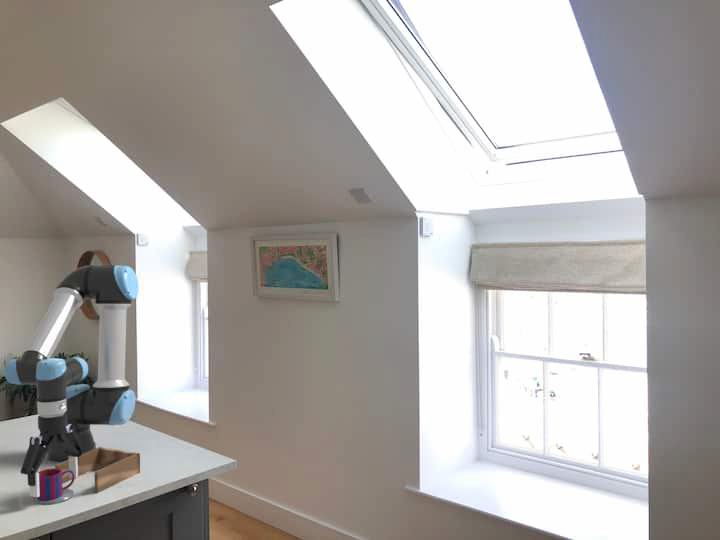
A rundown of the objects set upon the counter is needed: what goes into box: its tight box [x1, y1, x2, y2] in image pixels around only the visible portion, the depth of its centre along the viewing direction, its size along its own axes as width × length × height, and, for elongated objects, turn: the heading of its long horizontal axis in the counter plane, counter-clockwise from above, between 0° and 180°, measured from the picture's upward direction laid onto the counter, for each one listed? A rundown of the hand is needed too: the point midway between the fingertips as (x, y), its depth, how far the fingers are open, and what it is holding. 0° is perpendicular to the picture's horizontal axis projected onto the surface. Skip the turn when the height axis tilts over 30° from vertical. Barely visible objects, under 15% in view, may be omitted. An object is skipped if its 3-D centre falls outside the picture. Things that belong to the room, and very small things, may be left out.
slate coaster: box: [34, 488, 75, 505], centre depth 183 cm, size 10×10×1 cm
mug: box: [36, 468, 75, 501], centre depth 183 cm, size 7×10×7 cm
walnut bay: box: [54, 446, 141, 494], centre depth 197 cm, size 16×18×6 cm
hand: (54, 487), depth 183 cm, fingers open, 13 cm apart
